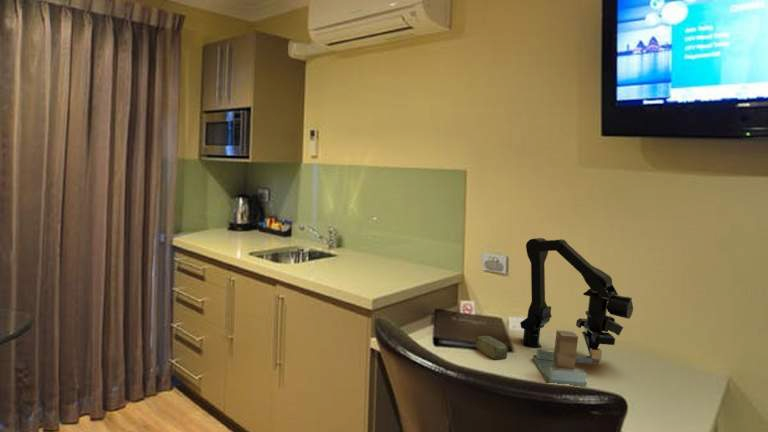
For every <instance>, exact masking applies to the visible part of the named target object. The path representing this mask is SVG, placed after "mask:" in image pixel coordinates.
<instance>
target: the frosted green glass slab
mask: <svg viewBox="0 0 768 432" xmlns="http://www.w3.org/2000/svg"><path fill="white" fill-rule="evenodd" d="M536 355H537V354H533V355H532V361H533V362H534V363H535V365H536V366H537V368H538V369H539V371H540V372H541V374H542V375H543V377H544V378H545V380H546V382H547V383H548V384H549V383H557V384H569V385H574V386H573V387H575V386H586V387H587V381H586V377H587V372H586V371H585V370H584V369H577V368H575V367H574V369H564V368H553V367H552V365H553V360H547V359H538V358H537V357H536Z"/></svg>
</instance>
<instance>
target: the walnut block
mask: <svg viewBox="0 0 768 432" xmlns="http://www.w3.org/2000/svg"><path fill="white" fill-rule="evenodd" d="M578 342H579V336H578V335H577V334H576V333H575V332H574V331H572V330H562V329H556V333H555V340H554V349H553V350H554V357H553V365H552V367H553V368H564V369H574V368H575V367H576V365H575V364H576V362H575V359H576V355H577V349H578Z"/></svg>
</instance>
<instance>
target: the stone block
mask: <svg viewBox="0 0 768 432" xmlns="http://www.w3.org/2000/svg"><path fill="white" fill-rule="evenodd" d="M475 348H476V349H477V350H478V351H479V352H480V353H482V354H484V355H486V356H487V357H489V358H491V359H493V360H505V359H506V358H507V357H508V351H509V350H508V346H507V344H505V343H503V342H501V341H500V340H498V339H496V338H494V337H492V336H490V335H481V336H477V337H476V342H475Z"/></svg>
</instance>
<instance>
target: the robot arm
mask: <svg viewBox="0 0 768 432" xmlns="http://www.w3.org/2000/svg"><path fill="white" fill-rule="evenodd" d="M525 249H526V254H527V257H528V259H529V262H530V280H531V281H530V282H531V283H530V284H531V285H530V286H531V291H530V292H531V303H530V305H529V307H528V309H527V317H526V318H524V319H523V320H522V321H520V323H519V324H520V328H521V329H523V335H522V336H523V337H522V338H520V339H519V341H520V342H521V344H522V346H523V347H531V348H532V347H533V348H542V345H541V343H540V336H541V329H542V328H545V325H547V324H548V323H549V322H550V320H551V319H552V317H553V315H552V306H551V305H550V306H548V305H547V302H546V285H545V283H546V282H545V280H546V278H545V275H546V273H545V272H546V271H545V269H546V267H545V263H546V260H547V257H548V254H549V252H554V251H555V252H557V253H558V254H559V255H560V256H561V257H562V258H563V259H565V261H567V262H568V263H569V264H570V265H571V266H572V267H573V268H574V269H575V270H576V271H577V272H579V273H580V275H581V276H582V279H583V280H584V282H585V283H586V284H587V286H588V287H589V289H587V290H586V291H584V292H583V293H582V295H583V296H587V297H589V300H588V306H587V307H588V308H587V310H585V315H586V318H581V317H580V318H578V319H577V320H576V322H575V323H576V324H575V326H576V327H577V328H578V329H581V328H582V327H583V329H584V331H581V333H582V335H583V339H584V341H585V344H586V347H587V350H588V354H589V355H590V348H599V346H600V345H608V346H610V345H611V346H615V344H616V338H615V337H614V336H613V335H612V334H611V333H614V334H615V335H617V336H620V335H621V333H622V330H623V329H624V326H622V325H621V324H620V323H618V322H616V320H615V318H614V317H613V316H617V317H620V318H623V319H627V320H629V319H631V317H632V315H633V312H634V305H633V301H632V300H633V297H629V296H622V295H619V294H618V291H617V289H616V288H615V286H614V285H613V279H612V277H611V276H610V275H609V274H608V273H606V272H604V271H603V270H602V269H599V268H597V267H596V266H594V265H592V264H591V263H590V262H589V261H587V260H586V259H585V258H584V257H583V256H582V255H581V254H580V253H578V251H577V250H575V249H574V248H573V247H572V246H571V245H570V244H568V242H567V241H566V240H565V239H561V238H560V239H550V240H547V239H545V238H543V237H537V238H530V239H529V240H528V241H526V244H525ZM607 312H608V313H609V316H608V314H607ZM611 315H612V316H611ZM609 331H610V332H611V333H610V332H609Z"/></svg>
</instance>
